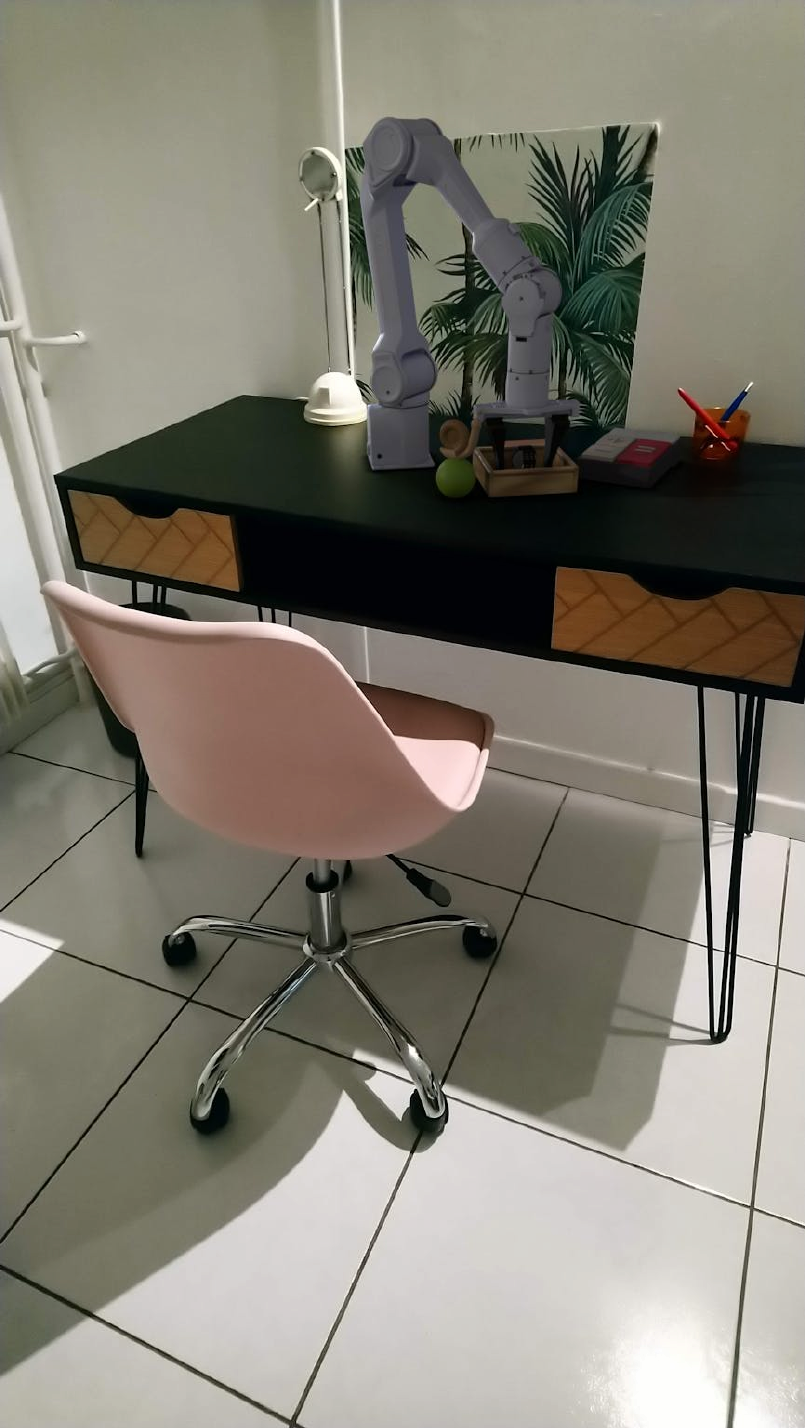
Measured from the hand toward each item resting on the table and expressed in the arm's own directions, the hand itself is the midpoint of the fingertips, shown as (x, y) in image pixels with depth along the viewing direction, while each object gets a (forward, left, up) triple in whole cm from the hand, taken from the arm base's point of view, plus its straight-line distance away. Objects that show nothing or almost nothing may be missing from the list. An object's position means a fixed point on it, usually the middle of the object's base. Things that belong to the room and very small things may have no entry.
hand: (523, 470), depth 127 cm
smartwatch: (0, 0, -2) cm, 2 cm away
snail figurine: (-10, -6, -2) cm, 12 cm away
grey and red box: (+16, +3, -2) cm, 17 cm away
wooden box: (0, 0, -2) cm, 2 cm away
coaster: (+4, +16, -2) cm, 16 cm away
